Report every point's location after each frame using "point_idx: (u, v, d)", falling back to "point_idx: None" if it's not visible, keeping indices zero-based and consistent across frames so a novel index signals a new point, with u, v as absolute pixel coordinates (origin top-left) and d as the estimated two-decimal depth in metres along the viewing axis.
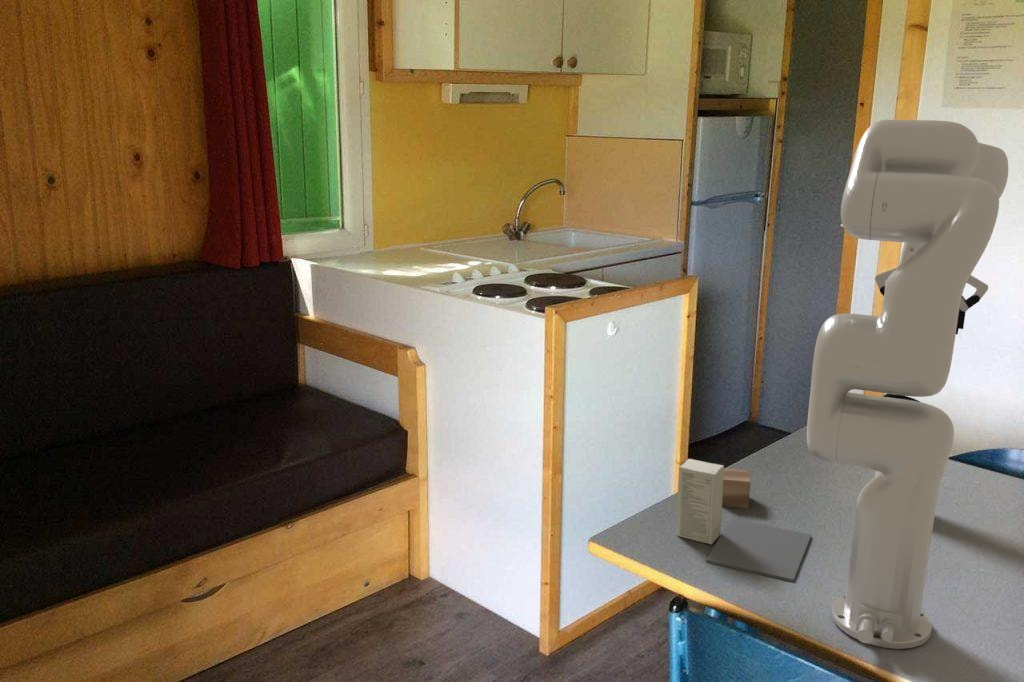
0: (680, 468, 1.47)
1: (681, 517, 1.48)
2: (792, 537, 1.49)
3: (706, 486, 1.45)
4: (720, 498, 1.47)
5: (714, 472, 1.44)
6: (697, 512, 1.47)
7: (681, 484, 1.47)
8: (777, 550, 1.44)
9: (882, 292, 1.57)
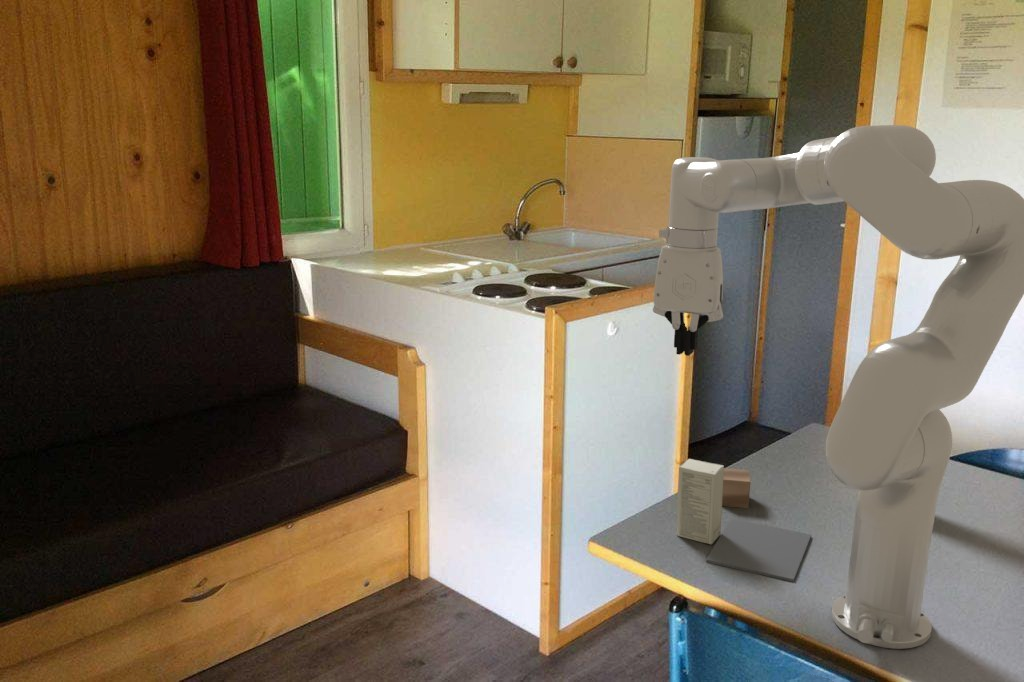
0: (680, 468, 1.47)
1: (681, 517, 1.48)
2: (792, 537, 1.49)
3: (706, 486, 1.45)
4: (720, 498, 1.47)
5: (714, 472, 1.44)
6: (697, 512, 1.47)
7: (681, 484, 1.47)
8: (777, 550, 1.44)
9: (667, 317, 1.47)
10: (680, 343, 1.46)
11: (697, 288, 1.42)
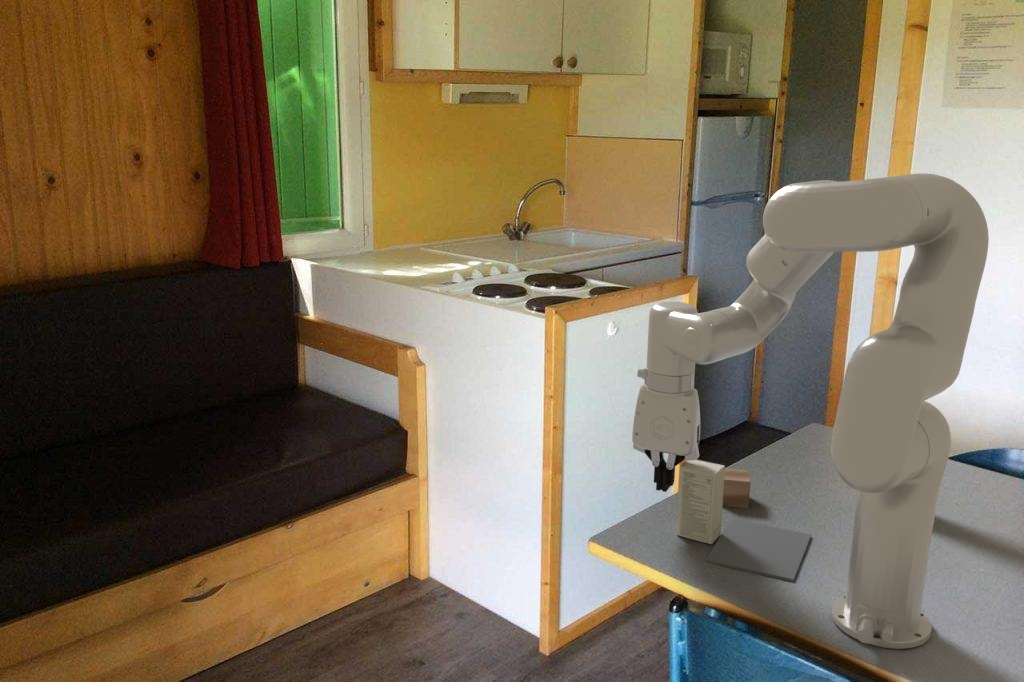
0: (681, 468, 1.46)
1: (681, 516, 1.48)
2: (792, 537, 1.49)
3: (707, 485, 1.45)
4: (721, 498, 1.47)
5: (715, 472, 1.44)
6: (698, 511, 1.47)
7: (682, 484, 1.47)
8: (777, 550, 1.44)
9: (647, 454, 1.50)
10: (660, 480, 1.49)
11: (674, 430, 1.44)
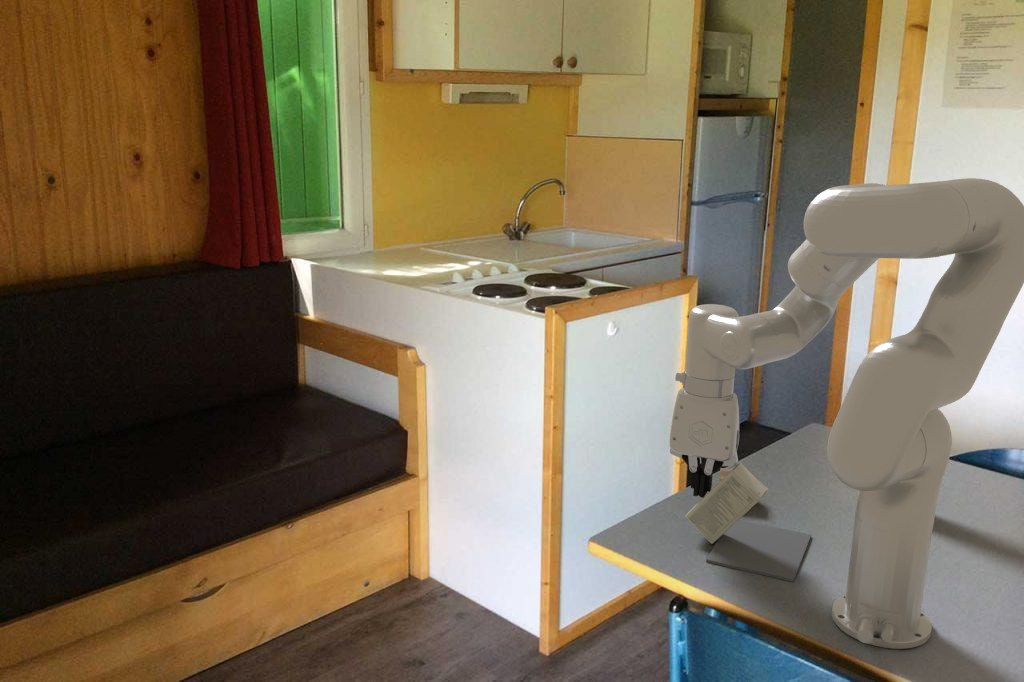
0: (732, 472, 1.42)
1: (701, 507, 1.46)
2: (792, 537, 1.49)
3: (745, 501, 1.42)
4: None
5: (760, 495, 1.41)
6: (719, 514, 1.45)
7: (722, 484, 1.43)
8: (777, 550, 1.44)
9: (684, 459, 1.47)
10: (697, 486, 1.46)
11: (714, 435, 1.42)
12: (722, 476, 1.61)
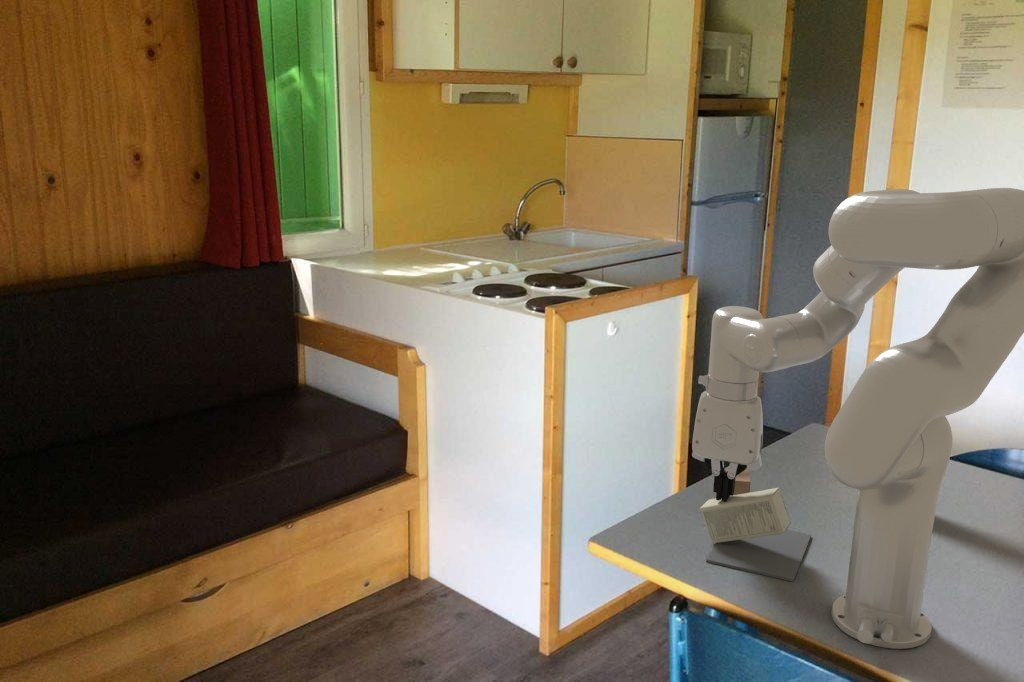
0: (770, 498, 1.40)
1: (721, 509, 1.45)
2: (792, 537, 1.49)
3: (767, 527, 1.41)
4: None
5: (784, 529, 1.40)
6: (735, 524, 1.44)
7: (754, 502, 1.41)
8: (777, 550, 1.44)
9: (706, 462, 1.45)
10: (720, 490, 1.45)
11: (737, 439, 1.40)
12: None
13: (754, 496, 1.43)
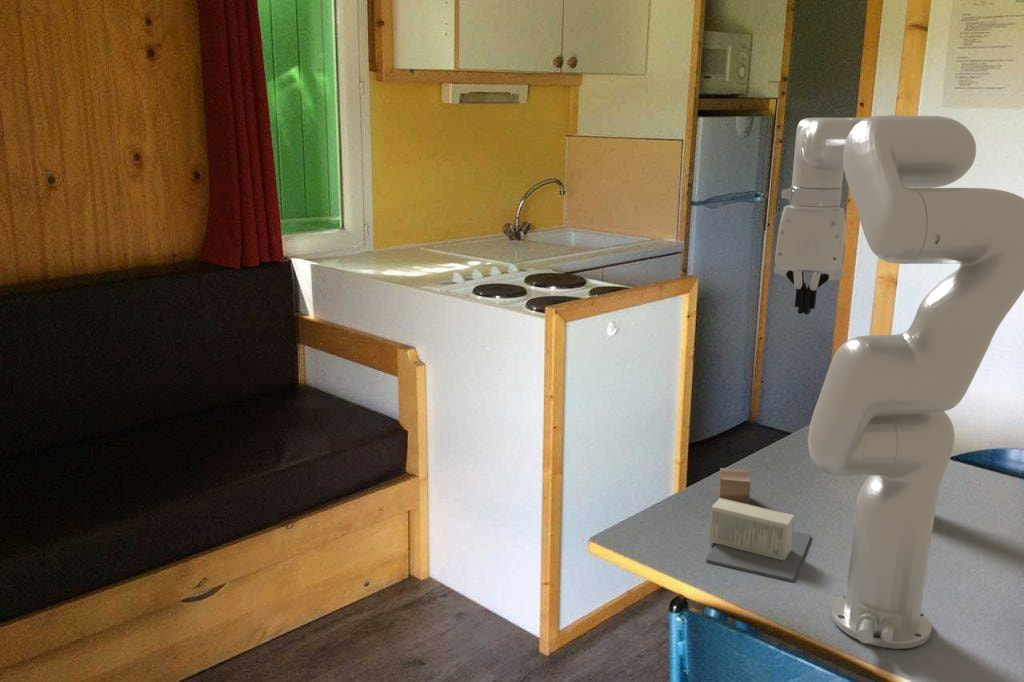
0: (786, 526, 1.40)
1: (732, 516, 1.44)
2: None
3: (770, 550, 1.42)
4: None
5: (785, 557, 1.41)
6: (740, 534, 1.44)
7: (768, 524, 1.41)
8: None
9: (788, 276, 1.49)
10: (802, 302, 1.48)
11: (821, 247, 1.44)
12: (722, 476, 1.61)
13: (769, 516, 1.42)
